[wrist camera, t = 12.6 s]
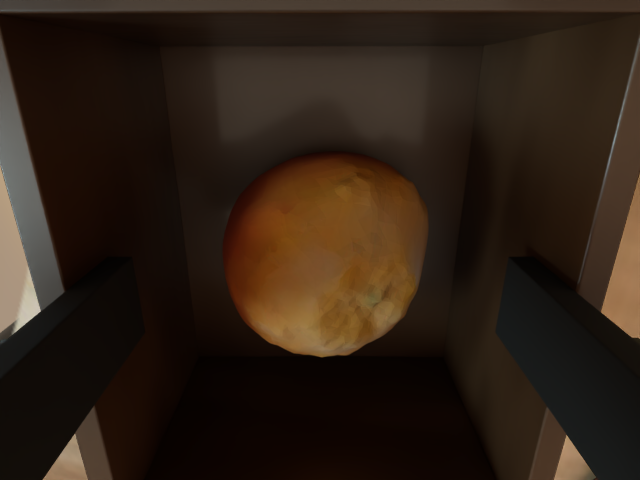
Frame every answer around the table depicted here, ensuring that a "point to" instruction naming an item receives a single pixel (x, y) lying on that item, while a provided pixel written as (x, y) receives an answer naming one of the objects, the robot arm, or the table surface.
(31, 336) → the robot arm
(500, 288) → the chest
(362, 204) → the fruit
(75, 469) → the table surface
